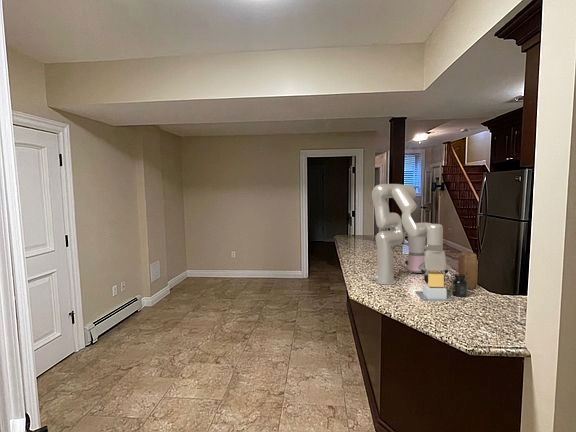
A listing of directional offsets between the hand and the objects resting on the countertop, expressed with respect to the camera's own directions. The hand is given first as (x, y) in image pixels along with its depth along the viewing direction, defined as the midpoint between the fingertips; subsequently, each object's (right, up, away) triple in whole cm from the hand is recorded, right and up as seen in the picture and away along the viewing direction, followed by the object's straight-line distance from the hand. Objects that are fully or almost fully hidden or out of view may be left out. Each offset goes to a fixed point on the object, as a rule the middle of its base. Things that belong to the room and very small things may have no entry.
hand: (434, 282), depth 169 cm
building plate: (0, -8, 0) cm, 8 cm away
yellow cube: (0, -1, 0) cm, 1 cm away
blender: (+11, -5, +56) cm, 58 cm away
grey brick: (0, -7, 0) cm, 7 cm away
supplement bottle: (+13, -8, +1) cm, 16 cm away
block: (+27, -7, +19) cm, 34 cm away
